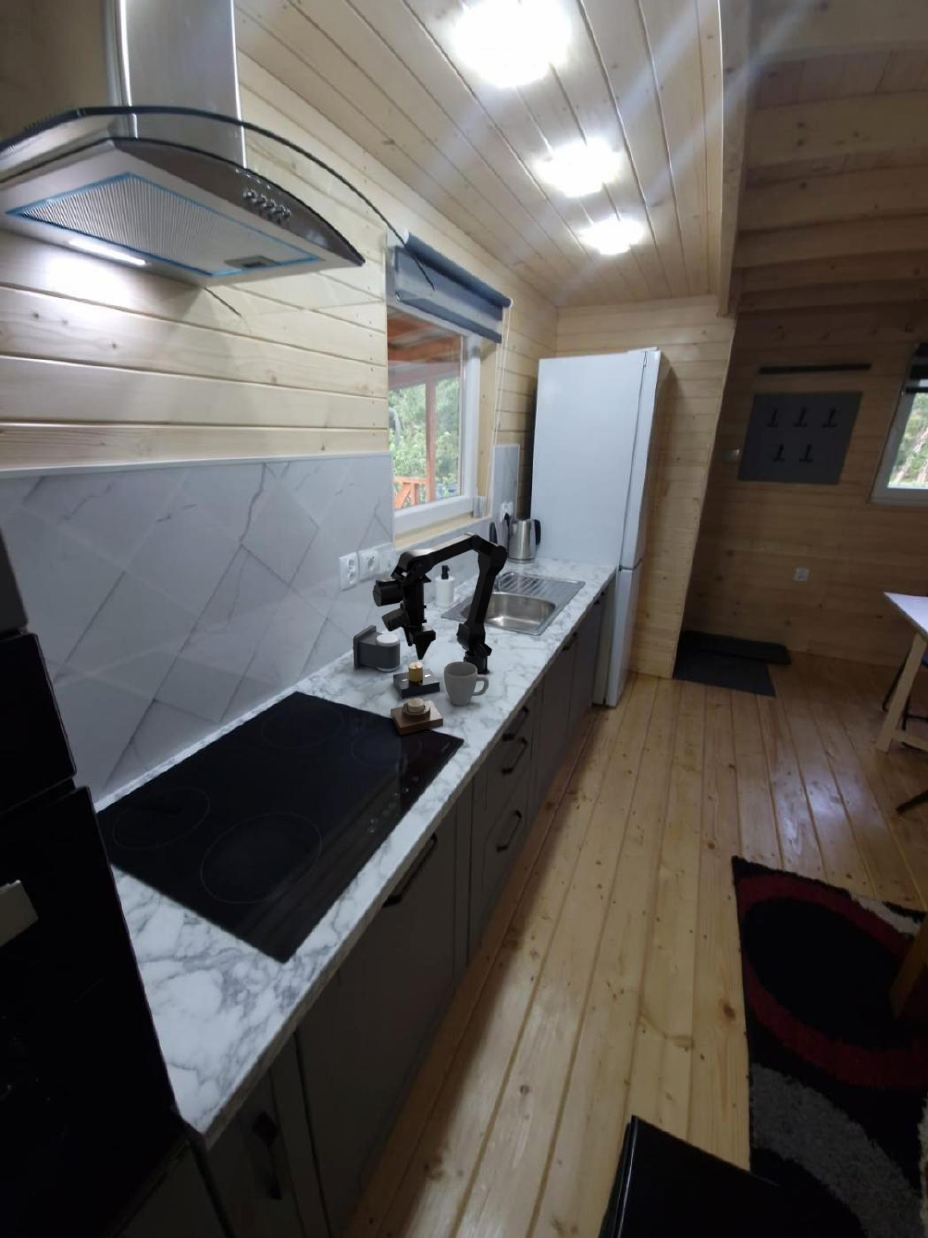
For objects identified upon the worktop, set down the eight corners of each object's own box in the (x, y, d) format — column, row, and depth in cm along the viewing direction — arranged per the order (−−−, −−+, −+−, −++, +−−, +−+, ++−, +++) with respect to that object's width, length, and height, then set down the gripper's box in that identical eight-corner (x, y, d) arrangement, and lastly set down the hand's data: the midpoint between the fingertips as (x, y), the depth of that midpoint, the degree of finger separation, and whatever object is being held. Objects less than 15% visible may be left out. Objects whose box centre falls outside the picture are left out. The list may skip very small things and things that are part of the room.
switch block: (431, 707, 131) (431, 694, 130) (443, 725, 124) (443, 711, 122) (390, 716, 127) (390, 702, 126) (400, 735, 120) (399, 721, 118)
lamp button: (421, 703, 126) (421, 697, 126) (426, 711, 123) (426, 705, 122) (406, 706, 125) (406, 700, 124) (410, 714, 122) (410, 708, 121)
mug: (441, 707, 131) (441, 675, 127) (447, 690, 139) (446, 660, 136) (486, 711, 130) (487, 678, 126) (489, 694, 138) (490, 663, 134)
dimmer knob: (407, 676, 141) (406, 662, 139) (420, 673, 142) (419, 660, 140) (411, 682, 137) (410, 668, 136) (424, 680, 139) (424, 666, 137)
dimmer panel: (429, 676, 147) (429, 667, 145) (439, 691, 139) (439, 681, 138) (393, 683, 143) (392, 674, 141) (401, 699, 135) (401, 688, 134)
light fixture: (388, 679, 146) (388, 646, 142) (351, 668, 151) (350, 636, 147) (407, 663, 156) (407, 632, 151) (371, 653, 160) (370, 623, 156)
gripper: (375, 592, 136) (378, 644, 142) (393, 616, 120) (395, 673, 126) (413, 588, 140) (415, 638, 146) (436, 610, 124) (437, 665, 130)
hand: (415, 652), depth 137 cm, fingers open, 9 cm apart
